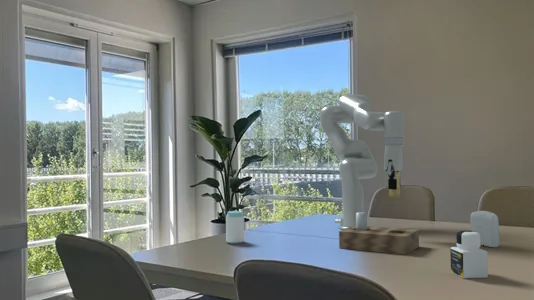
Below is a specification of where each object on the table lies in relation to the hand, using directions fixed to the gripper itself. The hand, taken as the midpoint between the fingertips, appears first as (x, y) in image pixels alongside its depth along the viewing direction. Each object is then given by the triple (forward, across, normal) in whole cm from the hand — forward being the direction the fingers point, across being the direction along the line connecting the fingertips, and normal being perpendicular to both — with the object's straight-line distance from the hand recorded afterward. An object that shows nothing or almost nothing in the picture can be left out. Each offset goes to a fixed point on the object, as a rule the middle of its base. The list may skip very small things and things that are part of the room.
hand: (394, 188), depth 188 cm
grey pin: (+18, +20, -6) cm, 28 cm away
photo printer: (+20, -1, +32) cm, 38 cm away
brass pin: (+3, 0, 0) cm, 3 cm away
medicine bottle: (+19, +46, +34) cm, 61 cm away
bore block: (+20, +20, 0) cm, 28 cm away
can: (+20, +36, -52) cm, 66 cm away
